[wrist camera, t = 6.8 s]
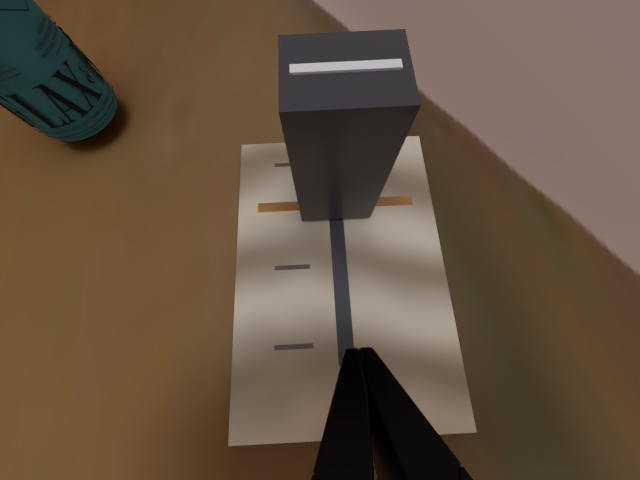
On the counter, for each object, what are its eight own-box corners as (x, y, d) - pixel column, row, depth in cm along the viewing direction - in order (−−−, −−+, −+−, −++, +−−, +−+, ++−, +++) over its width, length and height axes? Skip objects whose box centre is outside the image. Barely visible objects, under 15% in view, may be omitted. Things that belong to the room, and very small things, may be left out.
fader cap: (370, 217, 18) (421, 102, 9) (301, 221, 18) (278, 110, 9) (364, 172, 19) (405, 26, 10) (300, 175, 19) (278, 32, 10)
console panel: (467, 425, 16) (499, 449, 13) (233, 438, 16) (213, 464, 13) (414, 144, 22) (428, 117, 19) (245, 152, 22) (233, 127, 19)
